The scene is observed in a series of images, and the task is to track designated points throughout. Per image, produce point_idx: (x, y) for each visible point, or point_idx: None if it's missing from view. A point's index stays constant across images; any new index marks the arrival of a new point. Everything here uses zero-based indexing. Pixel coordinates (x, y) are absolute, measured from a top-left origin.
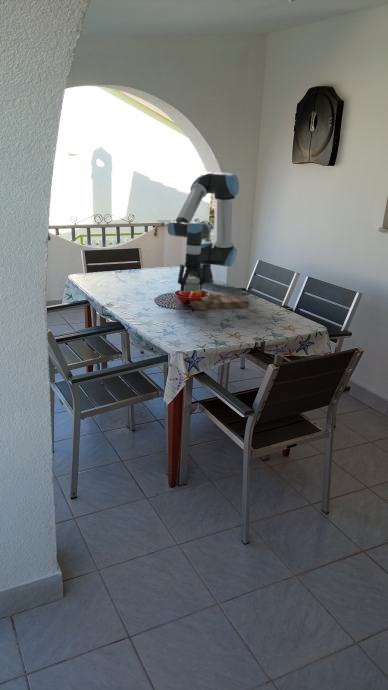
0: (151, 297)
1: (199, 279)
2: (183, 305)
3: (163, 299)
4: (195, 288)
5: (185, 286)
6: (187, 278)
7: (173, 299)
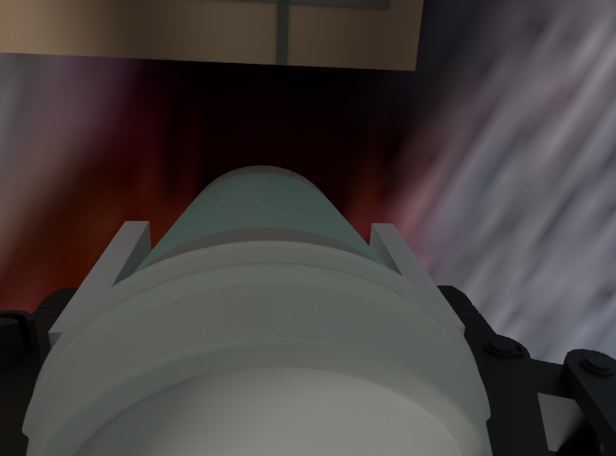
0: None
1: (20, 438)
2: (460, 62)
3: None
4: (234, 212)
5: None
6: (487, 443)
7: None
